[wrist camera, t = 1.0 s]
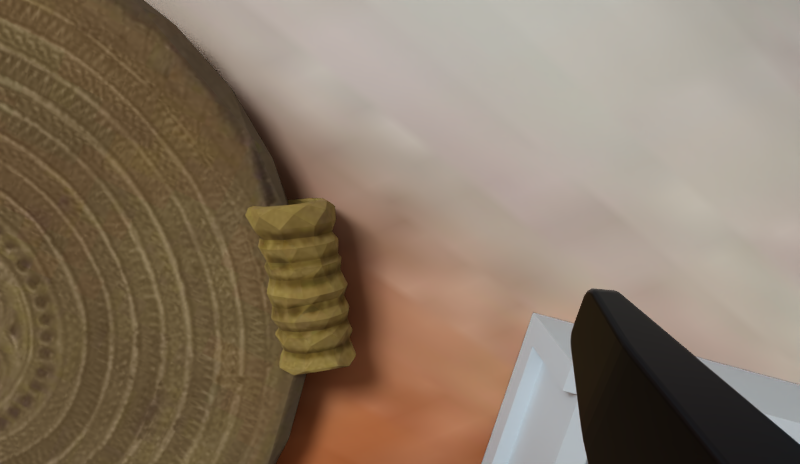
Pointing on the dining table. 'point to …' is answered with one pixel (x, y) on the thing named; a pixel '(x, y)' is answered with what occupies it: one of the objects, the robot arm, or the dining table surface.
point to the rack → (558, 407)
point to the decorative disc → (148, 251)
